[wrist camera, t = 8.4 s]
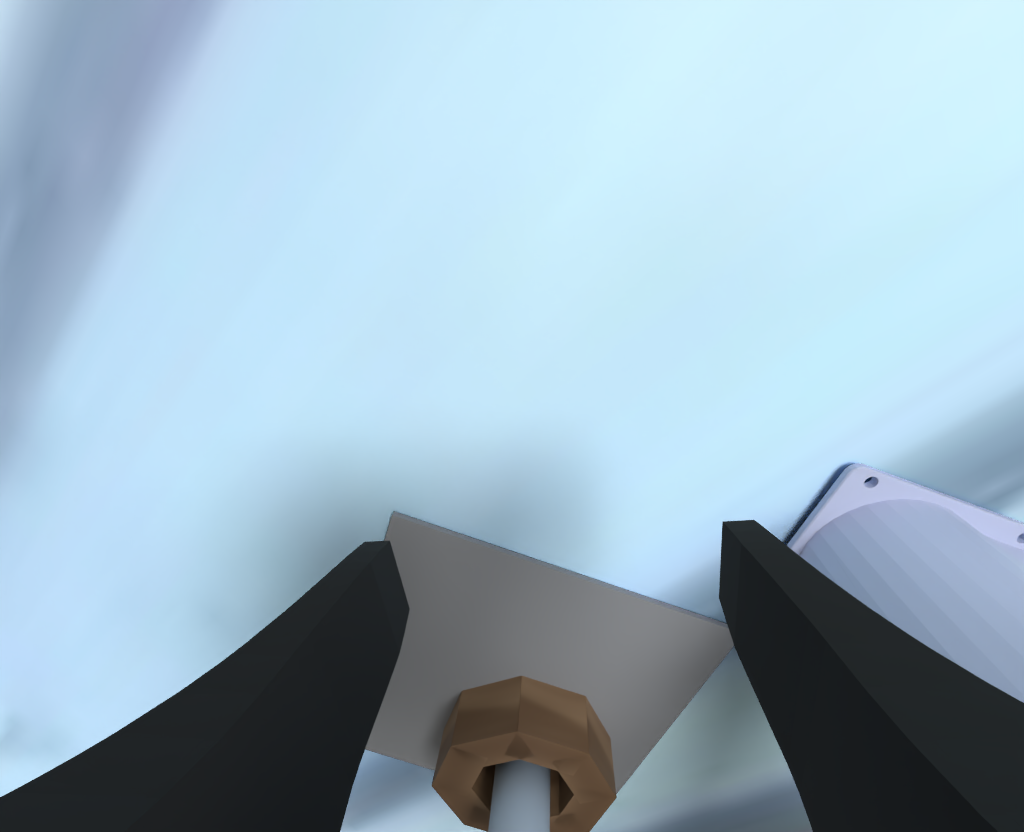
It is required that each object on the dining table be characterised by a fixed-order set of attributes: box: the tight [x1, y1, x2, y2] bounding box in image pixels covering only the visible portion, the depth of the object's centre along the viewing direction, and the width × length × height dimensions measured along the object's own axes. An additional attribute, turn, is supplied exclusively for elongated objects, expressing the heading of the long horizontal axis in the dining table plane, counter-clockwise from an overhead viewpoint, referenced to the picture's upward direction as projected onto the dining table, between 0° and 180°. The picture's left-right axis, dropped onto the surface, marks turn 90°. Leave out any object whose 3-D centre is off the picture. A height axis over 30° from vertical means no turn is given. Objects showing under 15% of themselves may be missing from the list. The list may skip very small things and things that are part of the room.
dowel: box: [488, 759, 551, 832], centre depth 24 cm, size 3×3×8 cm
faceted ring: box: [432, 676, 616, 832], centre depth 26 cm, size 9×9×3 cm
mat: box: [365, 511, 734, 794], centre depth 26 cm, size 18×18×1 cm
